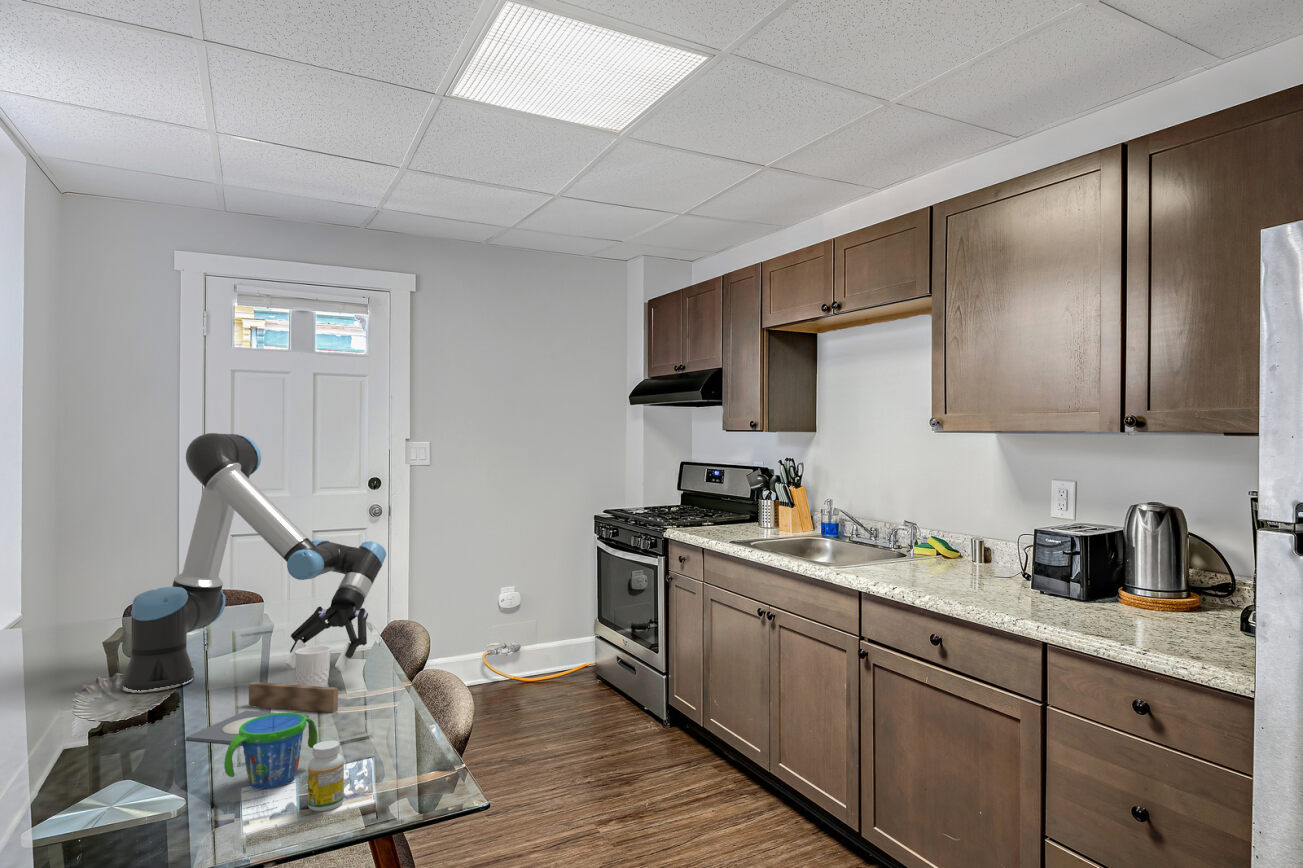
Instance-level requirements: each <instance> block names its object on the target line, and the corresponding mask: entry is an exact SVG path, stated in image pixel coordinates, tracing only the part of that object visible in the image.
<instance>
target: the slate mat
mask: <svg viewBox="0 0 1303 868" xmlns="http://www.w3.org/2000/svg"><path fill="white" fill-rule="evenodd" d="M275 713H276V712H268V711H256V710H245V711H242V712H240V713H237V714H235V715H233V716H231V717H228V718H225V719H224V720H222V721H219V722H216V723H215V724H212V725H210V726H208V727H206V728H204V729H201V730H199V731H196V732H194V733H193V734H190V735H188V736H186V737H185V741H193V742H201V743H202V742H203V743H204V742H205V743H214V744H215V743H216V744H217V743H218V744H228V745H230V743H231V742H232V739H234V738H235V737H236V736H237V735H238V734H239V728H240V726H241V725H242V724H244V723H245V722H247V721H249V720H251V719H254V718H257V717H260V716H264V715H269V714H275ZM303 715H304V716H305V717H308V718H310V715H309V714H303ZM239 746H242V743H240V744H239Z"/></svg>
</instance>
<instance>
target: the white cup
mask: <svg viewBox="0 0 1303 868" xmlns="http://www.w3.org/2000/svg"><path fill="white" fill-rule="evenodd" d="M295 664H296V665H295V679H296V685H303V686H319V687H329V677H330V664H331V647H330V646H327V645H313V646H312V645H310V646H306V647H304V648H301V649H298V650H296V651H295Z"/></svg>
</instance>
